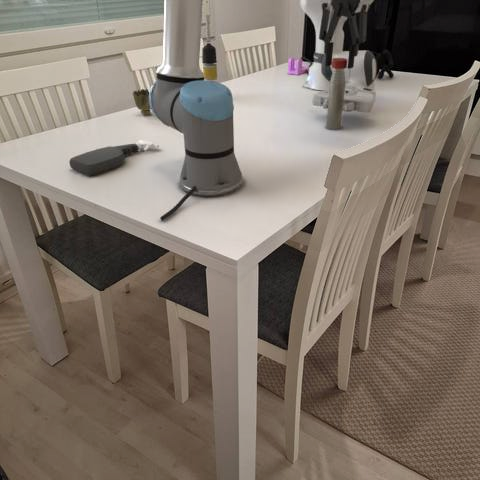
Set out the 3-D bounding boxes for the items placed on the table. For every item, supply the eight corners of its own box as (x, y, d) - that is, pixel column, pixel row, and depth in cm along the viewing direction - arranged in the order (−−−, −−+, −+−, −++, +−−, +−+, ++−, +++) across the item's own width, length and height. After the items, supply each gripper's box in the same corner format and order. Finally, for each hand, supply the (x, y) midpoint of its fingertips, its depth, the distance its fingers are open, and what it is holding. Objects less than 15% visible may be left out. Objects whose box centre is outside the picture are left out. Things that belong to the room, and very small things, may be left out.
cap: (347, 69, 134) (347, 60, 132) (331, 68, 134) (332, 60, 133) (346, 66, 137) (347, 57, 136) (331, 65, 138) (332, 57, 137)
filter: (220, 99, 177) (217, 15, 161) (206, 100, 176) (202, 16, 160) (215, 96, 182) (212, 14, 166) (202, 97, 180) (197, 14, 164)
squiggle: (382, 89, 208) (358, 69, 211) (398, 74, 207) (374, 53, 210) (386, 78, 197) (361, 56, 199) (403, 61, 196) (378, 40, 199)
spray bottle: (67, 168, 120) (139, 144, 136) (91, 178, 114) (163, 151, 130) (65, 157, 118) (137, 134, 134) (89, 167, 112) (162, 142, 128)
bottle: (326, 129, 144) (332, 62, 133) (325, 125, 148) (331, 59, 137) (341, 129, 144) (348, 62, 133) (340, 125, 148) (346, 59, 137)
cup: (131, 115, 161) (128, 92, 157) (144, 109, 166) (141, 87, 162) (147, 117, 158) (145, 94, 154) (160, 112, 163) (157, 89, 159)
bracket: (297, 74, 213) (298, 59, 209) (287, 73, 216) (288, 58, 212) (311, 70, 222) (312, 55, 218) (301, 68, 225) (302, 54, 221)
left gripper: (310, -21, 126) (305, 65, 138) (376, -21, 116) (365, 72, 128) (322, -22, 131) (316, 61, 143) (386, -22, 121) (374, 67, 133)
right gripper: (321, 84, 154) (305, 93, 145) (380, 91, 145) (366, 101, 135) (320, 102, 158) (304, 112, 148) (377, 110, 148) (364, 121, 139)
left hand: (339, 66), depth 136 cm, fingers open, 6 cm apart
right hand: (334, 107), depth 141 cm, fingers closed on bottle, 5 cm apart
